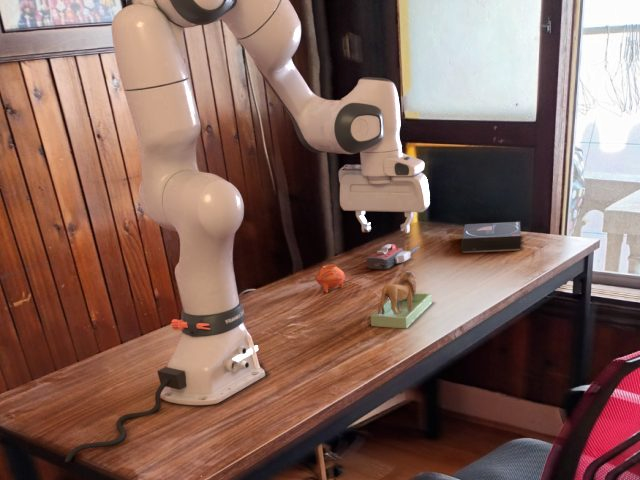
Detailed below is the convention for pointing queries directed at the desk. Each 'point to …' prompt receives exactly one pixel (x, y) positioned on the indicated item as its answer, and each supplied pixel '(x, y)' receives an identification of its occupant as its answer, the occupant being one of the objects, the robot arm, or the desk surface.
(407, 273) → the lion figurine
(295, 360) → the desk surface
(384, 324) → the tray
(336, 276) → the pot
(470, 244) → the portable cd player
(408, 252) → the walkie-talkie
